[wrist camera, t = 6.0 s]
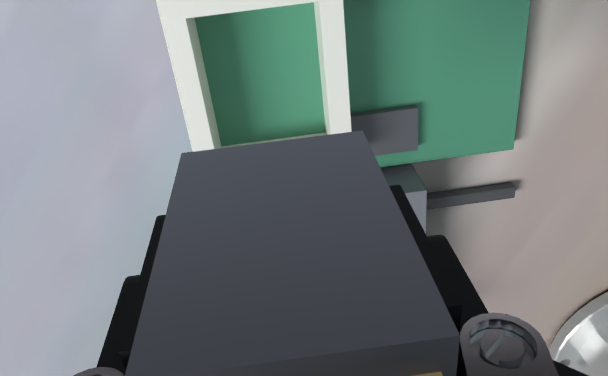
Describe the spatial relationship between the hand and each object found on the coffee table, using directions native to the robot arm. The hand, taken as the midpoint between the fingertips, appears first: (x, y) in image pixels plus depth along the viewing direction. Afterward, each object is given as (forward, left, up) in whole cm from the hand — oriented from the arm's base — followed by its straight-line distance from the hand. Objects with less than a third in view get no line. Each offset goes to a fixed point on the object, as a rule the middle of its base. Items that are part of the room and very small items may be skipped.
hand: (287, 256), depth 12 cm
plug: (0, 0, -1) cm, 1 cm away
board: (-4, 0, -16) cm, 16 cm away
